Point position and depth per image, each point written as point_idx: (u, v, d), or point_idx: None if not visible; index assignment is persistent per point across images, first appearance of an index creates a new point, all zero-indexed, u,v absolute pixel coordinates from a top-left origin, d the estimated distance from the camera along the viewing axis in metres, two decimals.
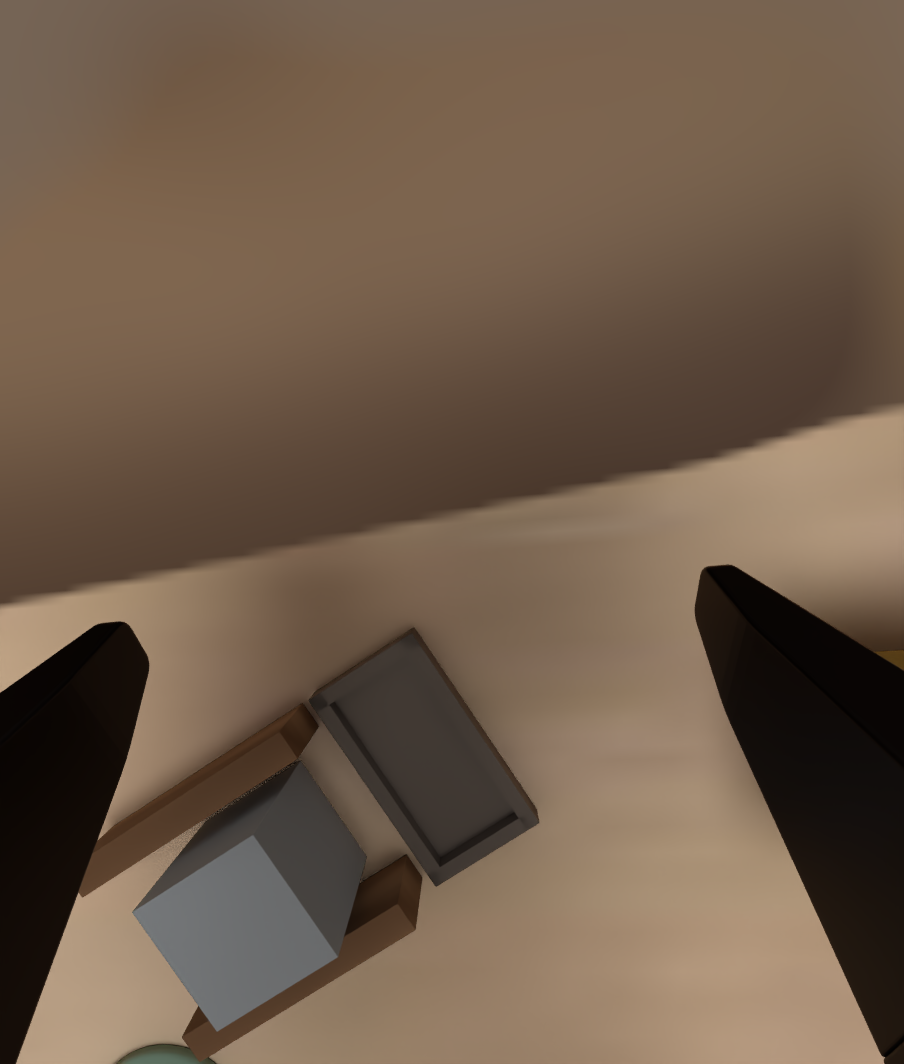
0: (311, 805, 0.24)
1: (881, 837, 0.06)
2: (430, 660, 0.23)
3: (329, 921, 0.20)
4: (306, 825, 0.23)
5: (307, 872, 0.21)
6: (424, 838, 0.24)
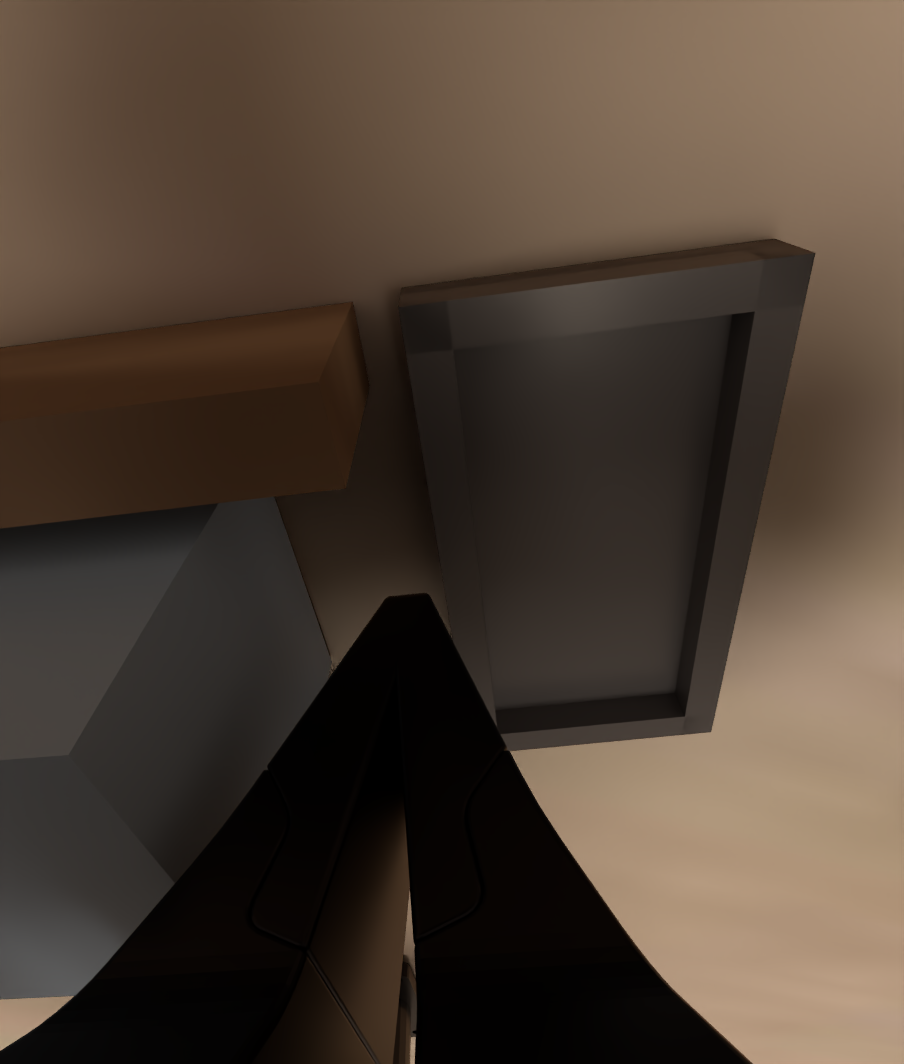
0: (260, 571, 0.09)
1: None
2: (787, 361, 0.08)
3: None
4: (242, 635, 0.08)
5: (228, 784, 0.07)
6: None
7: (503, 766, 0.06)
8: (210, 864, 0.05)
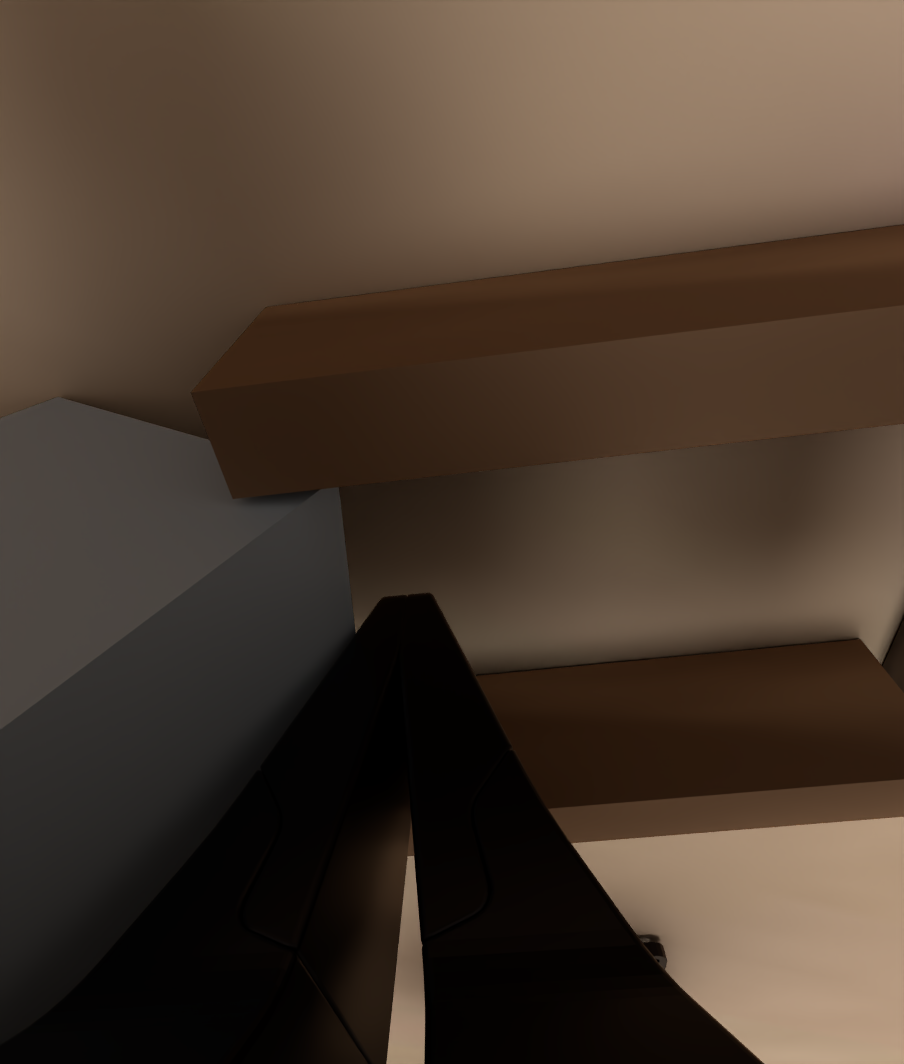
0: (276, 643, 0.07)
1: None
2: None
3: None
4: (205, 730, 0.06)
5: (90, 930, 0.05)
6: None
7: (509, 765, 0.06)
8: (202, 865, 0.05)
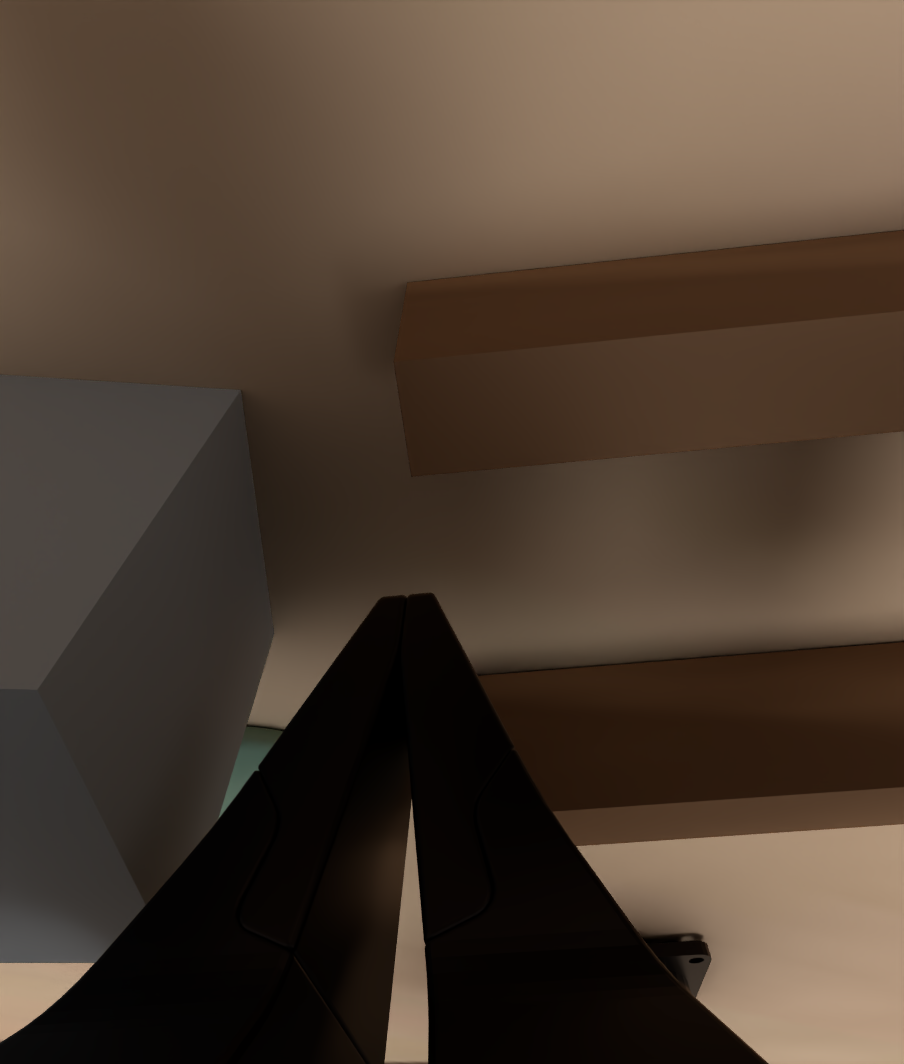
0: (228, 525, 0.08)
1: None
2: None
3: None
4: (204, 590, 0.08)
5: (173, 744, 0.07)
6: None
7: (512, 765, 0.06)
8: (199, 864, 0.05)
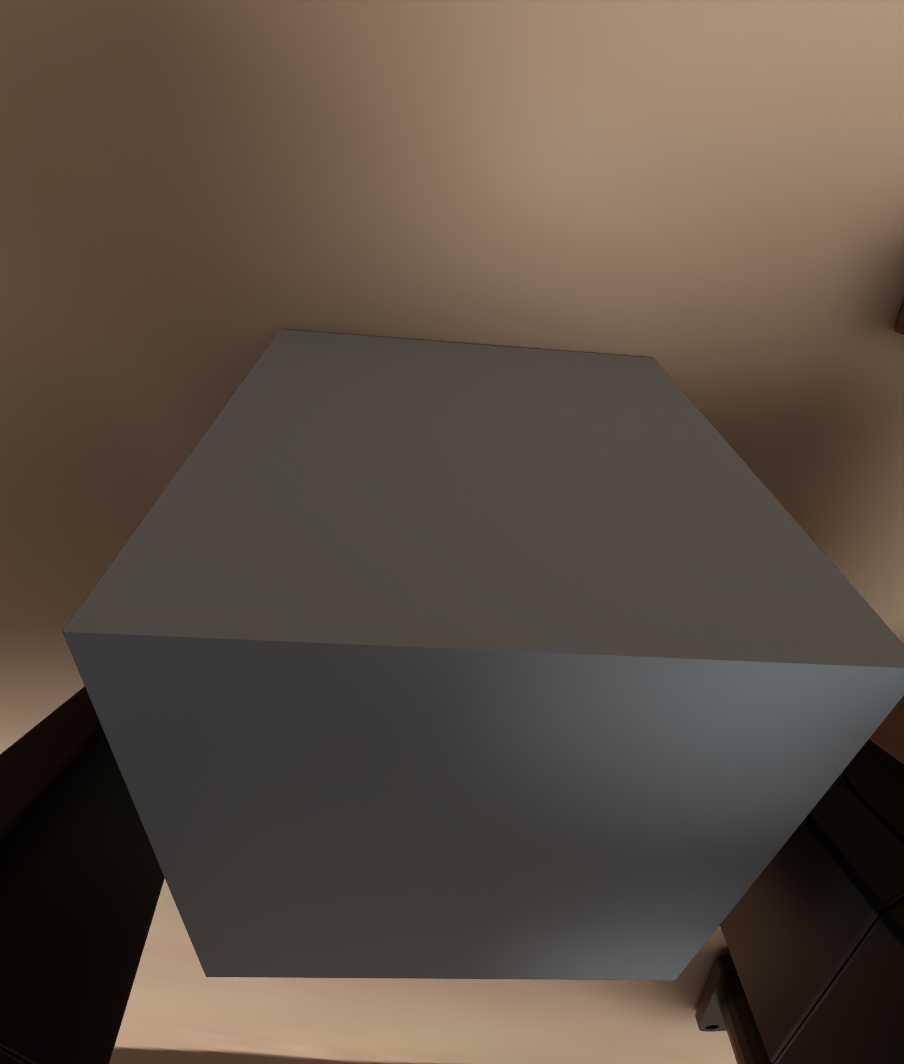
0: None
1: None
2: None
3: None
4: None
5: None
6: None
7: None
8: None
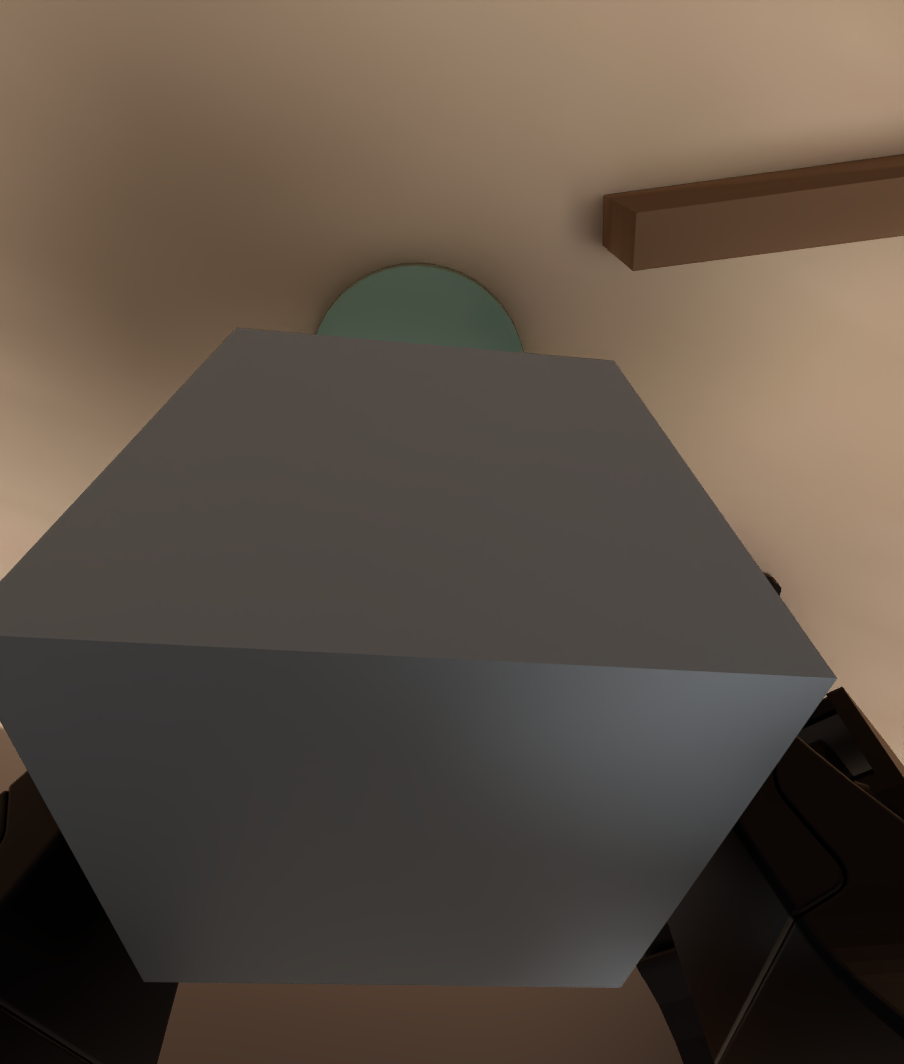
0: None
1: None
2: None
3: None
4: None
5: None
6: None
7: (793, 743, 0.06)
8: None
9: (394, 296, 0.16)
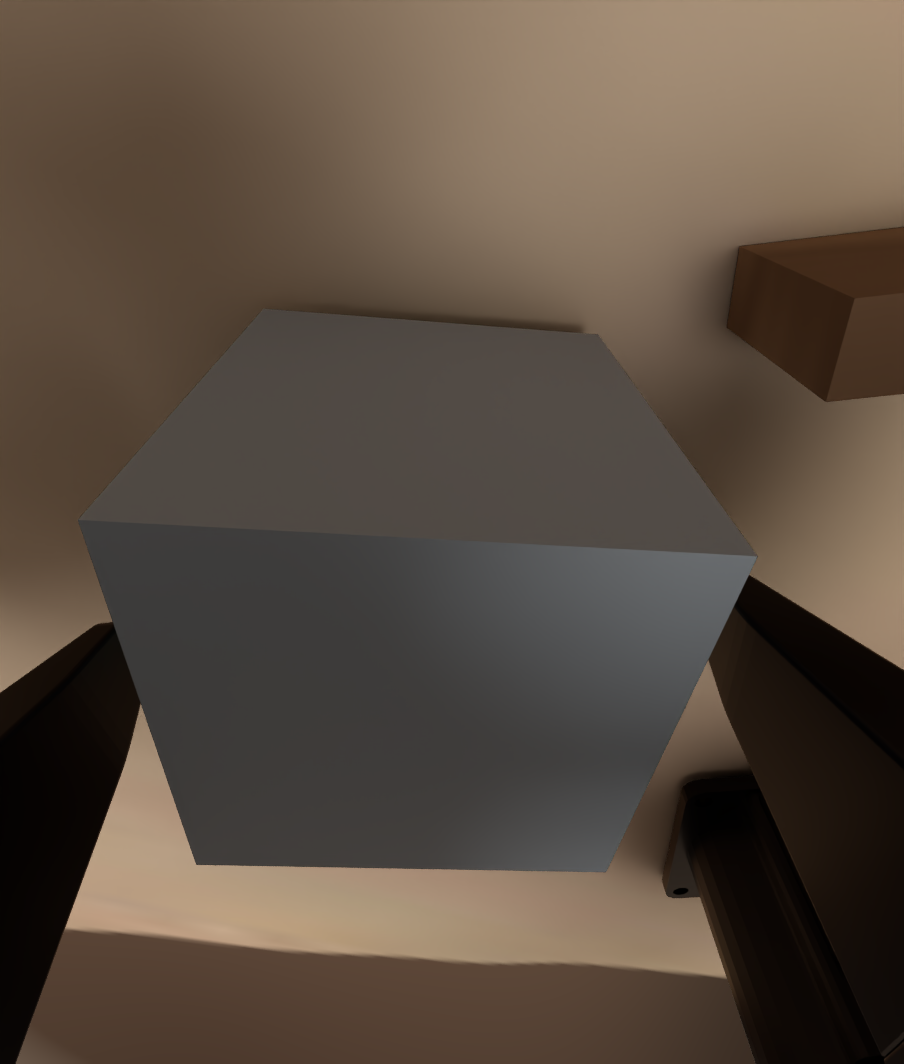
0: None
1: (881, 837, 0.06)
2: None
3: None
4: None
5: None
6: None
7: None
8: None
9: None
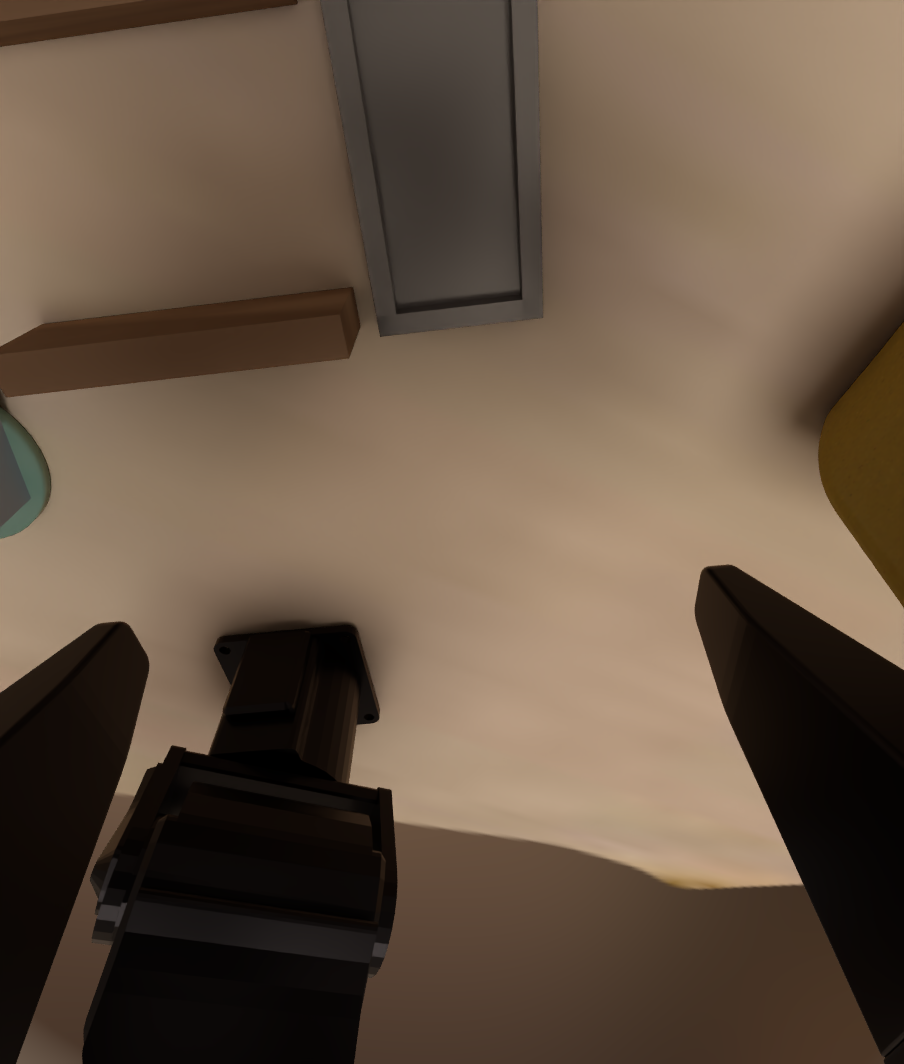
0: None
1: (881, 837, 0.06)
2: None
3: None
4: None
5: None
6: (390, 270, 0.17)
7: None
8: None
9: None
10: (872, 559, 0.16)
